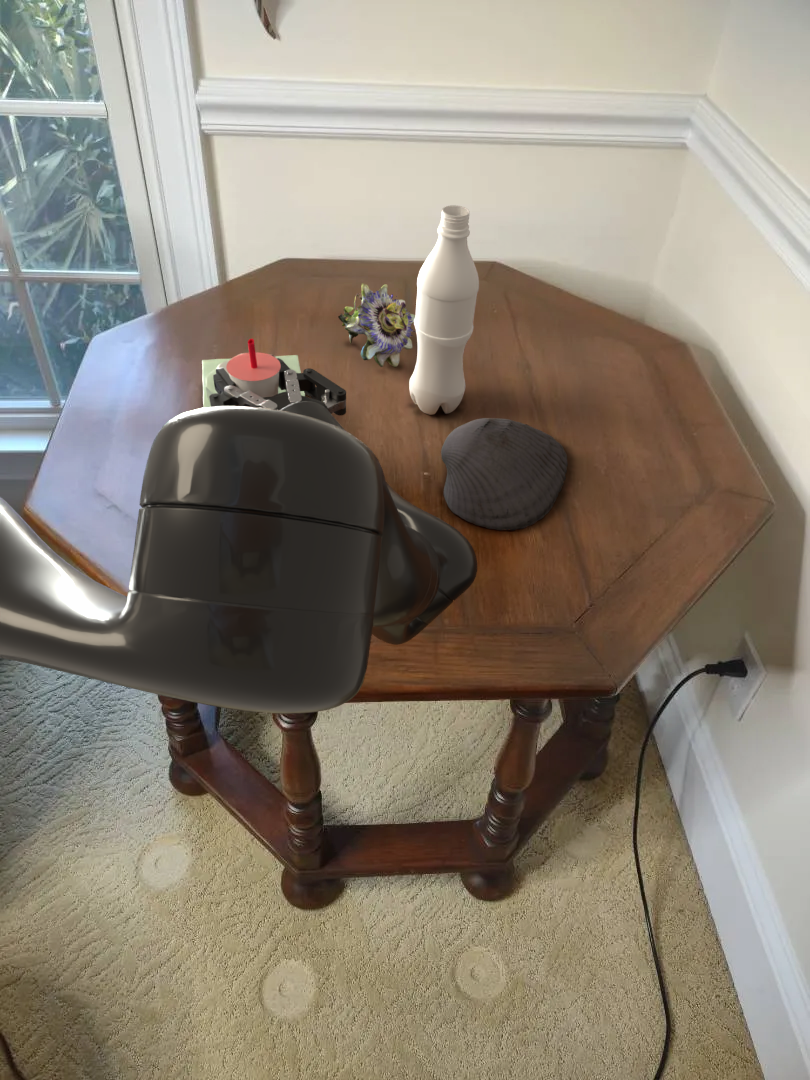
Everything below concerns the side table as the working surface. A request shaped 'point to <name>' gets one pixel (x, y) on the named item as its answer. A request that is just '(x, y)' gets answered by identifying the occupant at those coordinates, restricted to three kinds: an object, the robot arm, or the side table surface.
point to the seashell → (502, 473)
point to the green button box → (212, 365)
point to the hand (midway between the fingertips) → (244, 369)
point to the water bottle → (444, 315)
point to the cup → (255, 372)
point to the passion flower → (380, 325)
